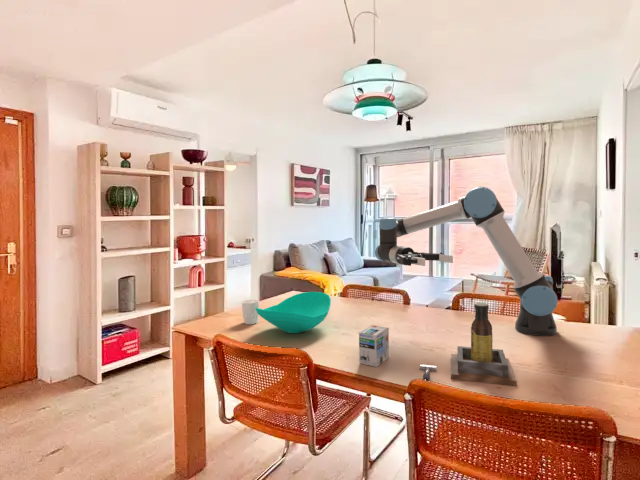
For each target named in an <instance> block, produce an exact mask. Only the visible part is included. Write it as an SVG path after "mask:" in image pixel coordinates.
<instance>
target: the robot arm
mask: <svg viewBox="0 0 640 480" xmlns="http://www.w3.org/2000/svg"><path fill="white" fill-rule="evenodd" d="M505 213H506V211H505V210H504V208H503V206H502V205H501V203H500V201H499V200H498V198H497V195H496V194H495V192H494V191H493V190H491V188H488V187H486V186H476V187H474V188H472V189H471V190H469V191H468V192H467V193H466V195H464V196H462V197H459V198H458V200H456V201H453V202H450V203H447V204H444V205H440V206H437V207H434V208H432V209H427V210H424V211H423V212H419V213H416V214H412V215H410V216H407V217H404V218H400V219H397V218H396V217H382V218H381V217H380V219H379V224H378V227H379V228H378V229H379V244H378V245H377V246H376V248H375V250H374V255H375V258H376V259H377V260H378V261H382V262H384V263H392V264H396V265H397V266H400V265H403V266H409V267H411V266H412V265H415V266H421V267H422V266H423V267H424V266H426V261H439V262H440V263H441V262H443V263H448V264H449V263H450V264H453V263H454V255H449V254H445V253H443V252H440V253H431V252H430V253H429V252H419V251H415V250H413V248H411V247H408V246H401V245H398V238H400V237H402V236H406V235H408V234H411V233H412V234H413V233H416V232H420V231H423V230H426V229H430V228H433V227H436V226H439V225H443V224H445V223H449V222H453V221H456V220H459V219H462V218H464V219H470V218H471V219H472V221H473V222H474V224H475V225H476V227H478V228H481V229H483V231H484V233H485V235H486V236H487V238H488V239H489V241H490V243H491V245H492V246H493V248H494V250H495V251H496V253H497V255H498V256H499V258H500V259H501V261H502V263H503V265H504V266H505V269H506V270H507V271H508V273H509V274H510V276H511V278H512V280H513V281H514V283H513V286H512V287H513V289H514V291H515V293H516V294H517V296H518V298H519V299H520V302H519V304H520V307H519V313H518V315H517V318H516V321H515V325H514V326H515V330H516V331H517V332H520V333H523V334H526V335H532V336H539V337H540V336H542V337H544V336H546V337H547V336H554V335H556V334H557V333H558V330H557V325H556V321H555V319H554V316H553V312H554V310H555V309H556V308H557V306H558V298H559V297H558V296H557V293H556V292H555V291H554V287H553V285H554V280H553V277H552V276H549V275H545V274H544V273H542V272H539V271H537V270H536V268H535V266H534V265H533V264H532V262H531V260H530V259H529V257H528V255H527V254H526V252H525V251H524V249H523V246H521V244H520V242H519V240H518V238H517V237H516V236H515V234H514V232H513V231H512V229H511V227H510V226H509V224H508V222H507V221H506V219H505V218H504V216H505Z"/></svg>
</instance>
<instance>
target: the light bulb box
mask: <svg viewBox="0 0 640 480" xmlns="http://www.w3.org/2000/svg"><path fill="white" fill-rule="evenodd" d="M389 333H390V328H389V327H387V326H379V325H374V324H371V325H369V326H368V327H367V328H364V329H363V330H362V331H360V332H358V349H359V350H358V351H359V354H358V355H359V359H358V360H359V361H358V362H359V364H361V365H365V366H366V365H367V366H370V367H375V368H377V367H379V366H380V365H381V364H382V363H384V362H386V360H388V359H389V358H390V357H389V356H390V347H389V346H390V345H389V343H390V341H389V339H390V337H389Z"/></svg>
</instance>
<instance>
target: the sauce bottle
mask: <svg viewBox="0 0 640 480" xmlns="http://www.w3.org/2000/svg"><path fill="white" fill-rule="evenodd" d="M489 309H490V308H489V303H485V302H477V303H475V304H474V312H475V315H474V320H473V321H472V323H471V327H470V347H471V359H472V361H482V362H492V349H493V325H492V324H491V322H490V320H489Z"/></svg>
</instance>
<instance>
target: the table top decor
mask: <svg viewBox="0 0 640 480" xmlns="http://www.w3.org/2000/svg"><path fill="white" fill-rule="evenodd" d="M331 303H332V299H331V297H330V295H329V294H327V293H326V292H321V291H306V292H304V291H303V292H301V293H296V294H294V295H292V296H289V297H288V298H286V299H284V300H282V301H281V302H279V303H278V304H274V305H272V306H268V307H266V308H264V309H263V308H261V307H259V308H256V311H257V313H258V314H259V317H261V318H262V319H263V320H265V321H267V323H268V322H269V323H270V324H271V325H273V326H274V327H276V328H278V329H279V330H282V331H283V332H285V333H288V334H299V333H304V332H306V331H309V330H311V329H314V328H315V327H318V325H320V324H321V323H322V322H324V321H325V319H326V317H327V316H328V315H329V314H328V313H329V311H330V309H331V305H332V304H331Z"/></svg>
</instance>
